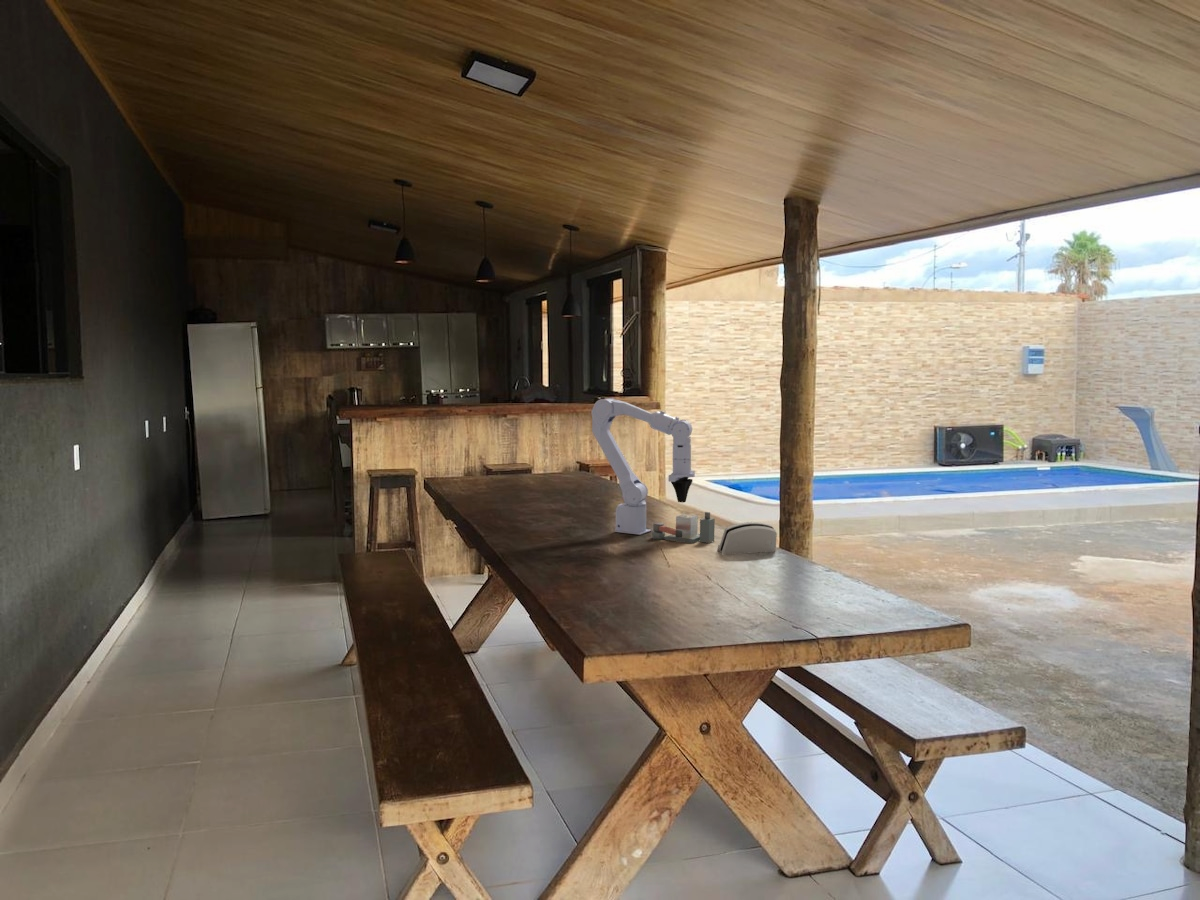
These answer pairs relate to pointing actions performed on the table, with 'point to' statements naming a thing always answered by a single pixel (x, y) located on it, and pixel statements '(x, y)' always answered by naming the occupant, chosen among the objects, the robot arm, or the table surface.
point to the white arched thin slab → (748, 538)
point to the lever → (666, 529)
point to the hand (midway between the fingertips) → (681, 502)
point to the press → (704, 536)
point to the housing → (687, 525)
